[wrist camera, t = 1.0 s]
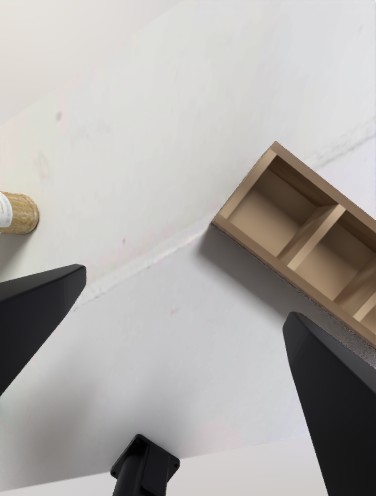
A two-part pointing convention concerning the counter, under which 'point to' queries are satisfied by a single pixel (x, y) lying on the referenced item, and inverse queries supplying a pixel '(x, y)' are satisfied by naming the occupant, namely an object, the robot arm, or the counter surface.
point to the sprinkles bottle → (17, 213)
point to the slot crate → (307, 237)
